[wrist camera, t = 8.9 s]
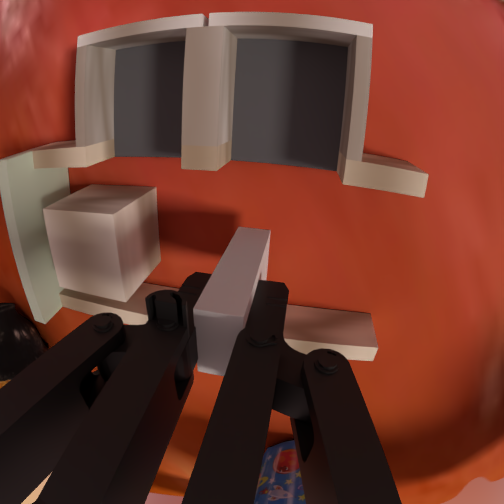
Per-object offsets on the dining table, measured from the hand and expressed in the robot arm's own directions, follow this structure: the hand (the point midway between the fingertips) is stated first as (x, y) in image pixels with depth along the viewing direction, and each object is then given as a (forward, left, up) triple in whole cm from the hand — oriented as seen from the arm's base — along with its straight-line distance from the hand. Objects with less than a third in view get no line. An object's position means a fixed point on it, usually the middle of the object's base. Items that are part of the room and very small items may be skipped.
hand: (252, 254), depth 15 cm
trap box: (+3, -3, -2) cm, 5 cm away
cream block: (+8, 0, -2) cm, 8 cm away
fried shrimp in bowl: (+22, +17, -2) cm, 28 cm away
